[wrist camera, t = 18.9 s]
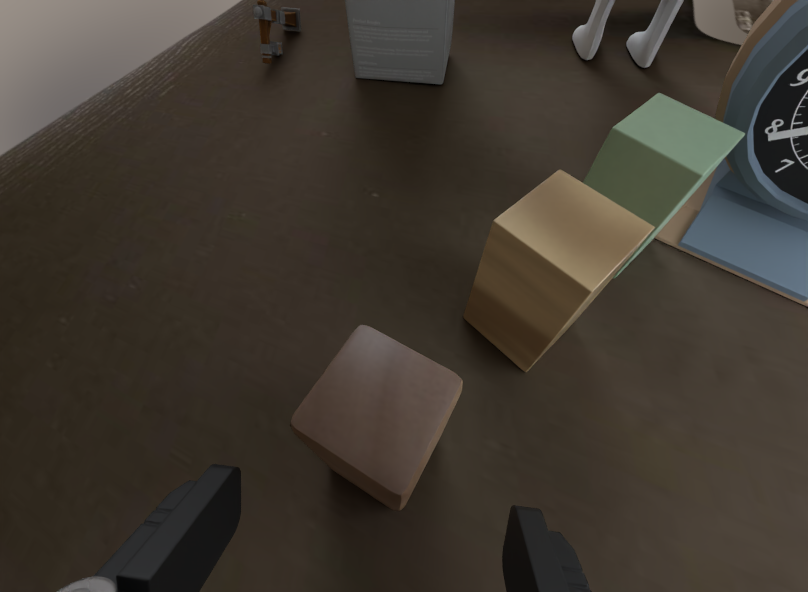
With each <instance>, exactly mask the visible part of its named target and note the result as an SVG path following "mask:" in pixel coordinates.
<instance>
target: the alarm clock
mask: <svg viewBox="0 0 808 592" xmlns="http://www.w3.org/2000/svg"><path fill="white" fill-rule="evenodd" d="M716 120H718V121H720V122H722V123H725V124H727V125H729V126H731V127H733V128H735V129H737V130H739V131H741V132H744V133H745V135H744V137H743V138H742V139H741V140H740V141H739V142H738V143H737V145H736V146H735V147H734V148H733V149H732V150H731V151H730V152H729V154H728V155H727V156H726V157H725V158H724V159H723V160H722V162H721V163H720V164H719V165H718V166H717V167H716V168H715V169H714V171H713V172H712V173H711V174H710V175H709V176H708V177H707V179H706V180H705V181H704V182H703V183H702V184H701V185H700V186H699V188H698V189H697V190H696V191H695V192H694V193H693V194H692V196H691V197H690V198H689V199H688V200H687V201H686V202H685V203H684V205H683V206H682V207H681V208H680V209H679V210H678V211H677V213H676V214H675V215H674V216H673V217H672V218H671V219H670V220H669V222H668V223H667V224H666V225H665V226H664V227H663V228H662V230H661V231H660V232H659V233H658V234H657V235H656V236H655V237H654V238H655V239H657V240H660V241H662V242H664V243H666V244H668V245H671V246H673V247H675V248H677V249H680V250H682V251H684V252H686V253H689V254H691V255H693V256H695V257H697V258H700V259H702V260H704V261H706V262H709V263H711V264H713V265H715V266H718V267H720V268H722V269H724V270H726V271H729V272H731V273H733V274H735V275H738V276H740V277H742V278H744V279H747V280H749V281H751V282H753V283H755V284H758V285H760V286H762V287H764V288H767V289H769V290H771V291H773V292H776V293H778V294H780V295H782V296H784V297H787V298H789V299H791V300H793V301H796V302H798V303H800V304H802V305H805V306H807V307H808V0H774V1H773V2H772V3H771V4H770V5H769V7H768V8H767V9H766V10H765V11H764V12H763V14H762V15H761V16H760V17H759V18H758V19H757V21H756V22H755V23H754V25H753V26H752V28H751V30H750V32H749V33H748V35H747V37H746V39H745V41H744V42H743V44H742V46H741V48H740V50H739V51H738V53H737V55H736V57H735V58H734V60H733V62H732V64H731V66H730V69H729V71H728V73H727V75H726V77H725V79H724V83H723V87H722V91H721V95H720V99H719V103H718V107H717V111H716Z"/></svg>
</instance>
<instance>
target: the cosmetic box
mask: <svg viewBox="0 0 808 592" xmlns="http://www.w3.org/2000/svg"><path fill="white" fill-rule="evenodd" d="M454 2H455V0H345V4H346V12H347V19H348V27H349V35H350V42H351V50H352V57H353V64H354V71H355V77H356V78H366V79H378V80H391V81H404V82H417V83H430V84H443V81H444V76H445V71H446V66H447V61H448V57H449V52H450V47H451V38H452V27H453V14H454Z"/></svg>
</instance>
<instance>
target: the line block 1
mask: <svg viewBox="0 0 808 592" xmlns="http://www.w3.org/2000/svg"><path fill="white" fill-rule="evenodd" d="M654 228H655V227H654V226H652V225H651V224H649V223H648V222H646V221H644V220H643V219H641V218H639V217H638V216H636V215H634V214H633V213H631V212H630V211H628V210H626V209H625V208H623V207H621V206H620V205H618V204H616V203H615V202H613V201H611V200H610V199H608V198H607V197H605V196H603V195H602V194H600V193H598V192H597V191H595V190H593V189H592V188H590V187H589V186H587V185H585V184H584V183H582V182H580V181H579V180H577V179H575V178H574V177H572V176H571V175H569V174H567V173H566V172H564V171H562V170H561V169H559V170H558V171H557V172H555V173H554V174H553V175H552V176H550V177H549V178H548V179H546V180H545V181H544V182H542V183H541V184H540V185H539V186H537V187H536V188H535V189H533V190H532V191H531V192H530V193H528V194H527V195H526V196H524V197H523V198H522V199H520V200H519V201H518V202H517V203H515V204H514V205H513V206H511V207H510V208H509V209H508V210H506V211H505V212H504V213H502V214H501V215H500V216H498V217H497V218H496V219H495V220H493V223H492V226H491V229H490V233H489V236H488V239H487V242H486V245H485V248H484V252H483V255H482V258H481V261H480V264H479V268H478V271H477V274H476V277H475V280H474V283H473V287H472V290H471V293H470V296H469V299H468V303H467V306H466V309H465V312H464V315H463V318H464V319H465V320H466V321H467V322H469V323H470V324H471V325H472V326H473V327H474V328H475V329H476V330H478V331H479V332H480V333H481V334H482V335H483V336H484V337H486V338H487V339H488V340H489V341H490V342H491V343H492V344H493V345H495V346H496V347H497V348H498V349H499V350H500V351H501V352H502V353H504V354H505V355H506V356H507V357H508V358H509V359H510V360H512V361H513V362H514V363H515V364H516V365H517V366H518V367H519V368H521V369H522V370H523V371H524V372H525V373H526V372H527V371H528V370H529V369H530V368H531V367H532V366H533V365H534V364H535V363H536V362H537V361H538V360H539V359H540V358H541V357H542V356H543V355H544V353H545V352H546V351H547V350H548V349H549V348H550V347H551V346H552V345H553V344H554V343H555V342H556V341H557V340H558V339H559V338H560V337H561V336H562V335H563V334H564V333H565V331H566V330H567V329H568V328H569V327H570V326H571V325H572V324H573V323H574V322H575V321H576V320H577V318H578V317H579V316H580V315H581V314H582V313H583V311H584V310H585V309H586V308H587V307H588V306H589V304H590V303H591V302H592V301H593V300H594V299H595V297H596V296H597V295H598V294H599V293H600V292H601V290H602V289H603V288H604V287H605V286H606V285H607V283H608V282H609V281H610V280H611V279H612V278H613V276H614V275H615V274H616V273H617V272H618V271H619V269H620V268H621V267H622V266H623V265H624V264H625V262H626V261H627V260H628V259H629V258H630V257H631V255H632V254H633V253H634V252H635V251H636V250H637V248H638V247H639V246H640V245H641V244H642V243H643V241H644V240H645V239H646V238H647V237H648V236H649V234H650V233H651V232H652V231H653V230H654Z"/></svg>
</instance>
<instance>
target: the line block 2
mask: <svg viewBox="0 0 808 592" xmlns="http://www.w3.org/2000/svg"><path fill="white" fill-rule="evenodd" d="M744 135H745V133H744V132H741V131H739V130H737V129H735V128H733V127H731V126H729V125H727V124H725V123H722V122H720V121H718V120H716V119H714V118H712V117H710V116H708V115H705V114H703V113H701V112H699V111H697V110H695V109H693V108H691V107H689V106H686V105H684V104H682V103H680V102H678V101H676V100H674V99H672V98H669V97H667V96H665V95H663V94H661V93H658V94H656V95H655V96H654V97H652V98H651V99H650V100H648V101H647V102H646V103H644V104H643V105H642V106H640V107H639V108H638V109H637V110H635V111H634V112H633V113H631V114H630V115H629V116H627V117H626V118H625V119H623V120H622V121H621V122H619V123H618V124H617V125H615V126H614V127H613V128H612V129H611V131H610V133H609V135H608V137H607V139H606V140H605V142H604V144H603V146H602V148H601V150H600V152H599V153H598V155H597V157H596V159H595V161H594V163H593V165H592V166H591V168H590V170H589V172H588V174H587V176H586V178H585V180H584V181H583V183H584V184H585V185H587V186H589V187H590V188H592V189H593V190H595V191H597V192H598V193H600V194H602V195H603V196H605V197H607V198H608V199H610V200H611V201H613V202H615V203H616V204H618V205H620V206H621V207H623V208H625V209H626V210H628V211H630V212H631V213H633V214H634V215H636V216H638V217H639V218H641V219H643V220H644V221H646V222H648V223H649V224H651V225H652V226H654V227H655V228H654V230H653V231H652V232H651V233H650V234H649V236H648V237H647V238H646V239H645V240H644V241H643V243H642V244H641V245H640V246H639V247H638V248H637V250H636V251H635V252H634V253H633V254H632V255H631V257H630V258H629V259H628V260H627V261H626V262H625V264H624V265H623V266H622V267H621V268H620V269H619V271H618V272H617V273H616V274H615V275H614V276H613V278H616V277H617V276H618V275H619V274H620V273H621V272H622V271H623V270H624V269H625V268H626V267H627V265H628V264H629V263H630V262H631V261H632V260H633V259H634V258H635V257H636V256H637V255H638V254H639V253H640V252H641V251H642V250H643V249H644V248H645V247H646V246H647V245H648V244H649V243H650V242H651V241H652V240H653V239H654V237H655V236H656V235H657V234H658V233H659V232H660V231H661V230H662V228H663V227H664V226H665V225H666V224H667V223H668V222H669V220H670V219H671V218H672V217H673V216H674V215H675V214H676V213H677V211H678V210H679V209H680V208H681V207H682V206H683V205H684V203H685V202H686V201H687V200H688V199H689V198H690V197H691V196H692V194H693V193H694V192H695V191H696V190H697V189H698V188H699V186H700V185H701V184H702V183H703V182H704V181H705V180H706V179H707V177H708V176H709V175H710V174H711V173H712V172H713V171H714V169H715V168H716V167H717V166H718V165H719V164H720V163H721V162H722V160H723V159H724V158H725V157H726V156H727V155H728V154H729V152H730V151H731V150H732V149H733V148H734V147H735V146H736V145H737V143H738V142H739V141H740V140H741V139H742V138H743V137H744Z"/></svg>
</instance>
